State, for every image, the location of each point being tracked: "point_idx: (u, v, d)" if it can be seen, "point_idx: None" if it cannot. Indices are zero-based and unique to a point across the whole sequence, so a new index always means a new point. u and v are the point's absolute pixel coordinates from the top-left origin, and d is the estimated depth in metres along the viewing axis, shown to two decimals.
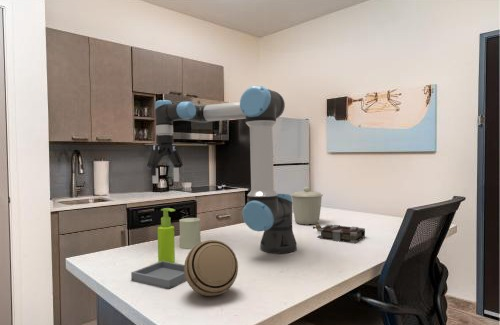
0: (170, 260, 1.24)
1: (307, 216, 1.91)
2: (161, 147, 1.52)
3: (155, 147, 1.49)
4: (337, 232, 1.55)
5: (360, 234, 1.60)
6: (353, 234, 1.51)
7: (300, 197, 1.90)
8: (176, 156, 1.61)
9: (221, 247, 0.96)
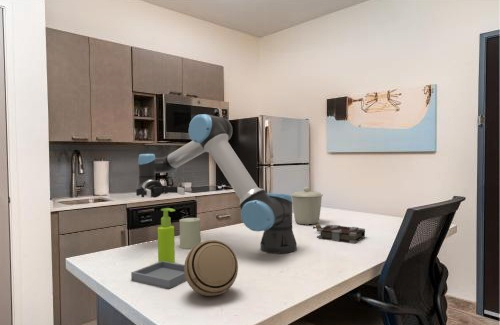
0: (170, 260, 1.24)
1: (307, 216, 1.91)
2: (148, 187, 1.48)
3: (140, 188, 1.46)
4: (336, 232, 1.55)
5: (360, 234, 1.60)
6: (352, 234, 1.51)
7: (300, 197, 1.90)
8: None
9: (221, 247, 0.96)
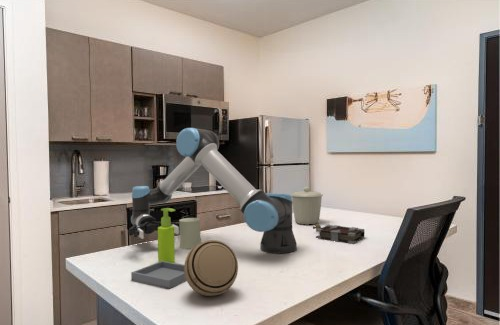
0: (170, 260, 1.24)
1: (307, 216, 1.91)
2: (141, 224, 1.44)
3: (133, 226, 1.42)
4: (335, 232, 1.55)
5: (359, 235, 1.59)
6: (351, 234, 1.51)
7: (300, 197, 1.90)
8: None
9: (221, 247, 0.96)
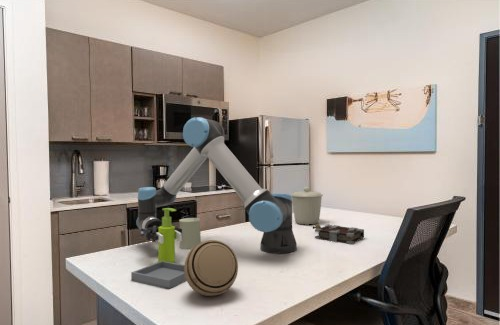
0: (170, 260, 1.24)
1: (307, 216, 1.91)
2: (148, 228, 1.35)
3: (141, 230, 1.32)
4: (334, 232, 1.54)
5: (358, 235, 1.58)
6: (349, 235, 1.50)
7: (300, 197, 1.90)
8: None
9: (221, 247, 0.96)
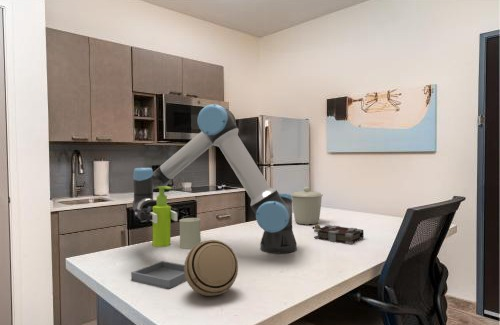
0: (165, 242, 1.15)
1: (307, 216, 1.91)
2: (143, 209, 1.26)
3: (135, 211, 1.23)
4: (333, 233, 1.54)
5: (358, 235, 1.58)
6: (348, 235, 1.50)
7: (300, 197, 1.90)
8: None
9: (221, 247, 0.96)
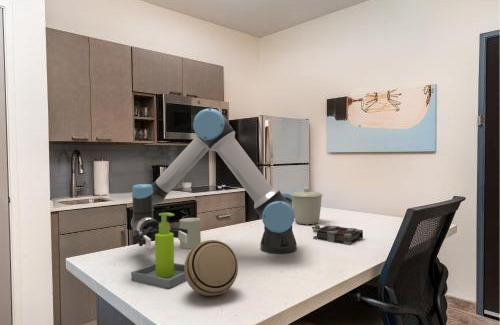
0: (169, 272, 1.09)
1: (307, 216, 1.91)
2: (144, 230, 1.19)
3: (134, 232, 1.17)
4: (331, 233, 1.54)
5: (357, 236, 1.57)
6: (347, 235, 1.49)
7: (300, 197, 1.90)
8: None
9: (221, 247, 0.96)
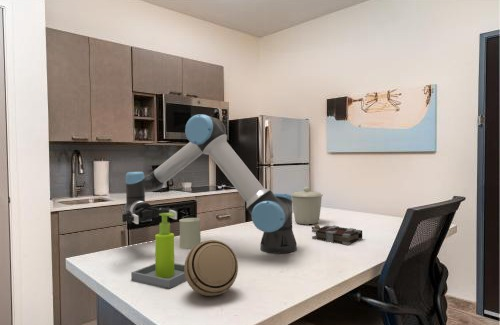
0: (169, 272, 1.09)
1: (307, 216, 1.91)
2: (136, 210, 1.33)
3: (127, 212, 1.31)
4: (330, 233, 1.53)
5: (356, 236, 1.56)
6: (345, 236, 1.49)
7: (300, 197, 1.90)
8: None
9: (221, 247, 0.96)
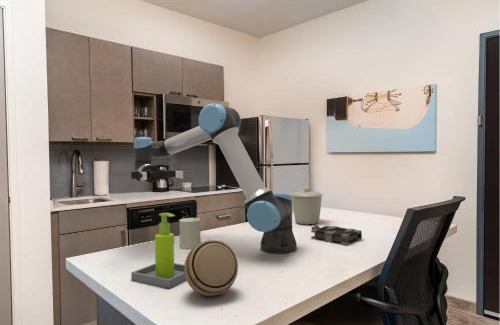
0: (169, 272, 1.09)
1: (307, 216, 1.91)
2: None
3: (135, 172, 1.36)
4: (329, 233, 1.53)
5: (355, 236, 1.56)
6: (344, 236, 1.48)
7: (300, 197, 1.90)
8: None
9: (221, 247, 0.96)
